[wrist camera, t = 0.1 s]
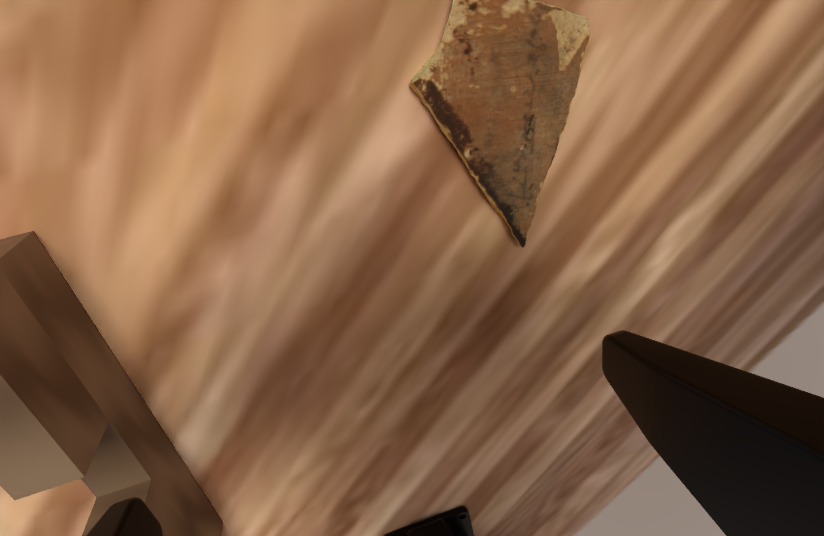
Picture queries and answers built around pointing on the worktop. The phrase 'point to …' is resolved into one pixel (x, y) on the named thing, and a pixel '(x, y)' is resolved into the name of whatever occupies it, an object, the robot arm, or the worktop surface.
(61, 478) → the slotted base plate
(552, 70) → the shard
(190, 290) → the worktop surface
